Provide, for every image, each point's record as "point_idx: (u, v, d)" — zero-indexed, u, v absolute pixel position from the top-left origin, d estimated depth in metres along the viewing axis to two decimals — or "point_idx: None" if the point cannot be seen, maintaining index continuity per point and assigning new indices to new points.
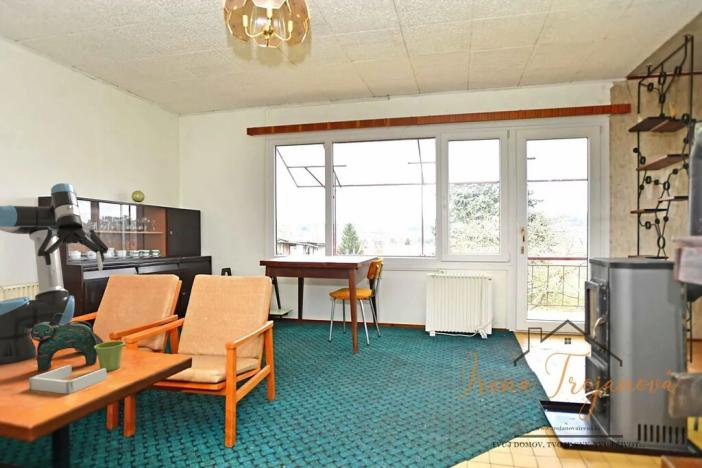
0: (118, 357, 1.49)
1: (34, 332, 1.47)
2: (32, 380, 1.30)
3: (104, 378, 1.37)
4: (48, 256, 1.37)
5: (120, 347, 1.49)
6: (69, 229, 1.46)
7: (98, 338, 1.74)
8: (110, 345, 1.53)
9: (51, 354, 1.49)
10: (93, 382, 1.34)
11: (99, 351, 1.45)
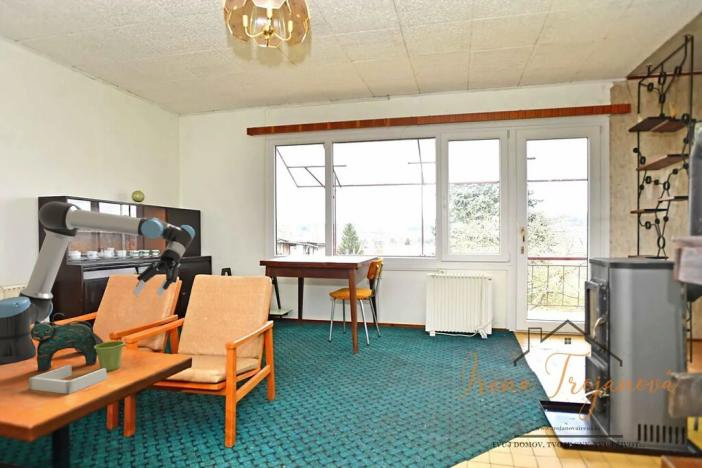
0: (118, 357, 1.49)
1: (35, 332, 1.47)
2: (32, 380, 1.30)
3: (104, 378, 1.37)
4: None
5: (120, 347, 1.49)
6: None
7: (98, 338, 1.74)
8: (110, 345, 1.53)
9: (51, 354, 1.49)
10: (93, 382, 1.34)
11: (99, 351, 1.45)
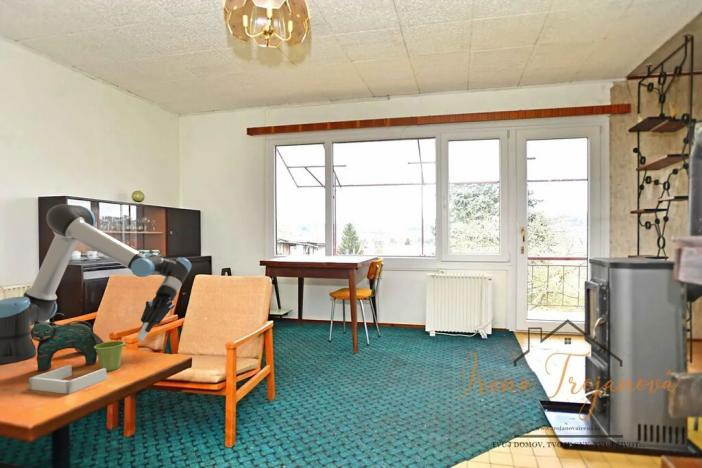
0: (118, 357, 1.49)
1: (35, 332, 1.47)
2: (32, 380, 1.30)
3: (104, 378, 1.37)
4: None
5: (120, 347, 1.49)
6: None
7: (98, 338, 1.74)
8: (110, 345, 1.53)
9: (51, 354, 1.49)
10: (93, 382, 1.34)
11: (99, 351, 1.45)
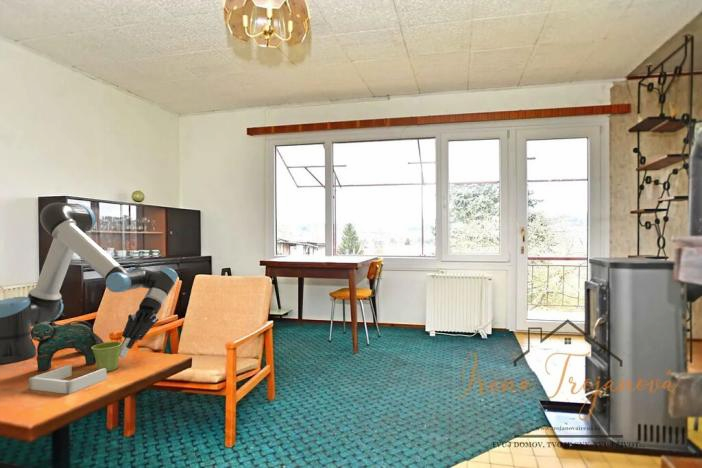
0: (115, 358, 1.47)
1: (35, 332, 1.47)
2: (32, 380, 1.30)
3: (104, 378, 1.37)
4: None
5: (117, 348, 1.48)
6: None
7: (98, 338, 1.74)
8: (108, 346, 1.52)
9: (51, 354, 1.49)
10: (93, 382, 1.34)
11: (96, 352, 1.44)
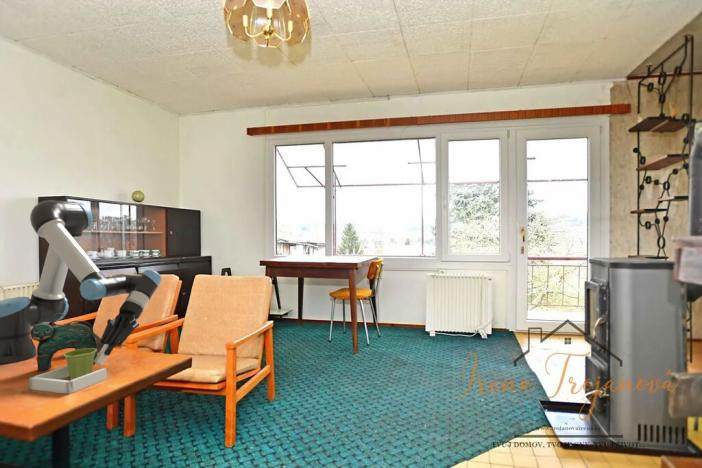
0: (86, 366, 1.38)
1: (35, 332, 1.47)
2: (32, 380, 1.30)
3: (104, 378, 1.37)
4: None
5: (87, 356, 1.38)
6: None
7: (98, 338, 1.74)
8: (87, 352, 1.44)
9: (51, 354, 1.49)
10: (93, 382, 1.34)
11: (66, 359, 1.37)
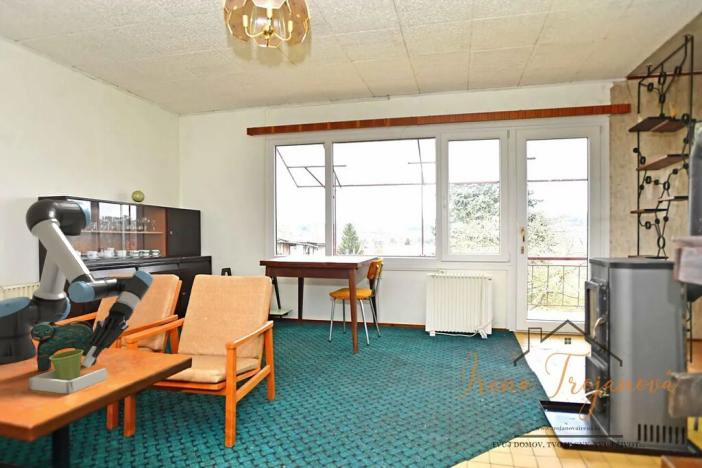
0: (69, 370, 1.35)
1: (34, 332, 1.47)
2: (32, 380, 1.30)
3: (104, 378, 1.37)
4: None
5: (69, 359, 1.34)
6: None
7: None
8: (77, 353, 1.41)
9: (51, 354, 1.49)
10: (93, 382, 1.34)
11: (51, 361, 1.35)
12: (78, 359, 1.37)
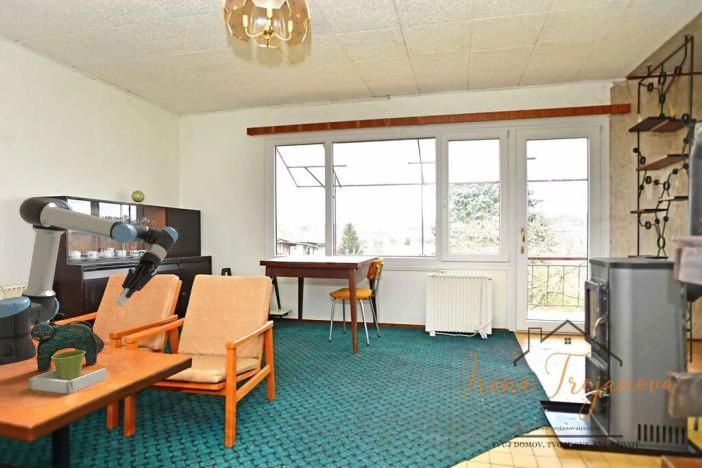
0: (71, 370, 1.35)
1: (35, 332, 1.47)
2: (32, 380, 1.30)
3: (104, 378, 1.37)
4: None
5: (72, 359, 1.35)
6: None
7: (98, 338, 1.74)
8: (78, 354, 1.42)
9: (51, 354, 1.49)
10: (93, 382, 1.34)
11: (53, 360, 1.35)
12: (80, 360, 1.38)
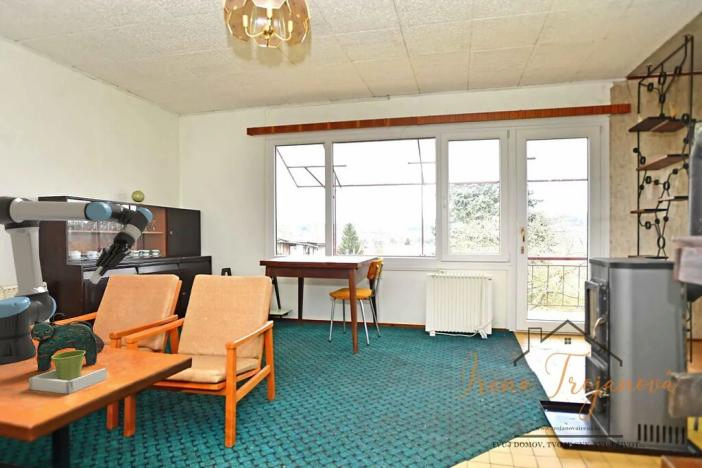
0: (71, 370, 1.35)
1: (35, 332, 1.47)
2: (32, 380, 1.30)
3: (104, 378, 1.37)
4: None
5: (72, 359, 1.35)
6: None
7: (98, 338, 1.74)
8: (78, 354, 1.42)
9: (51, 354, 1.49)
10: (93, 382, 1.34)
11: (53, 360, 1.35)
12: (80, 360, 1.38)
